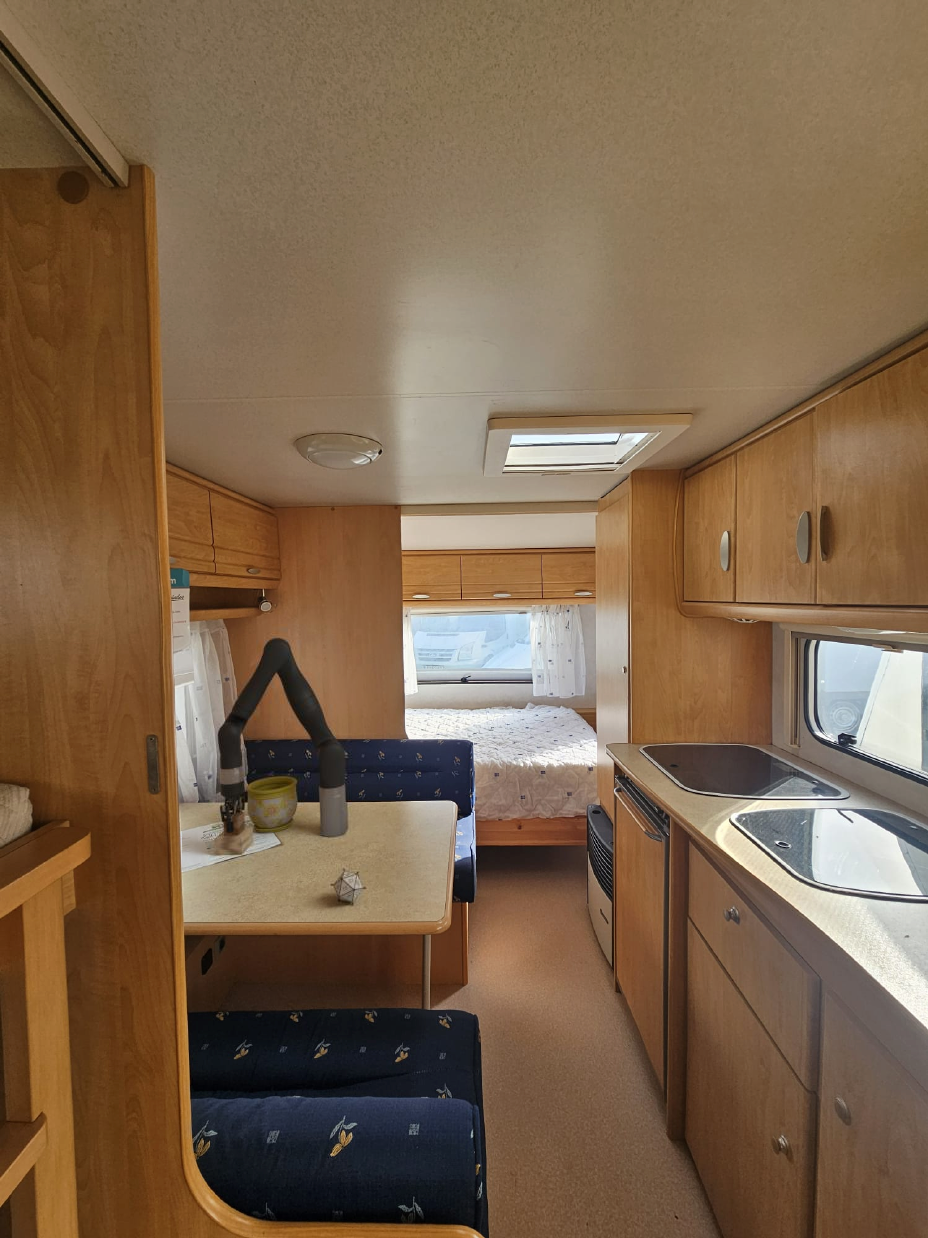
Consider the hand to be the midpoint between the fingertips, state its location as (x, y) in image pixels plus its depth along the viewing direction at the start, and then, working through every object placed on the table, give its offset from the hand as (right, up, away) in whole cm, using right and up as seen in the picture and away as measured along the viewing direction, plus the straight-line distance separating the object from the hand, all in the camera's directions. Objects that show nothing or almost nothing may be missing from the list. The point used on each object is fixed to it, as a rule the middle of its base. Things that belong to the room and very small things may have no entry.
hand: (234, 828), depth 179 cm
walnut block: (0, -1, 0) cm, 1 cm away
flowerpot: (+7, -7, +19) cm, 21 cm away
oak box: (0, -7, 0) cm, 7 cm away
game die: (+47, -5, -36) cm, 60 cm away
